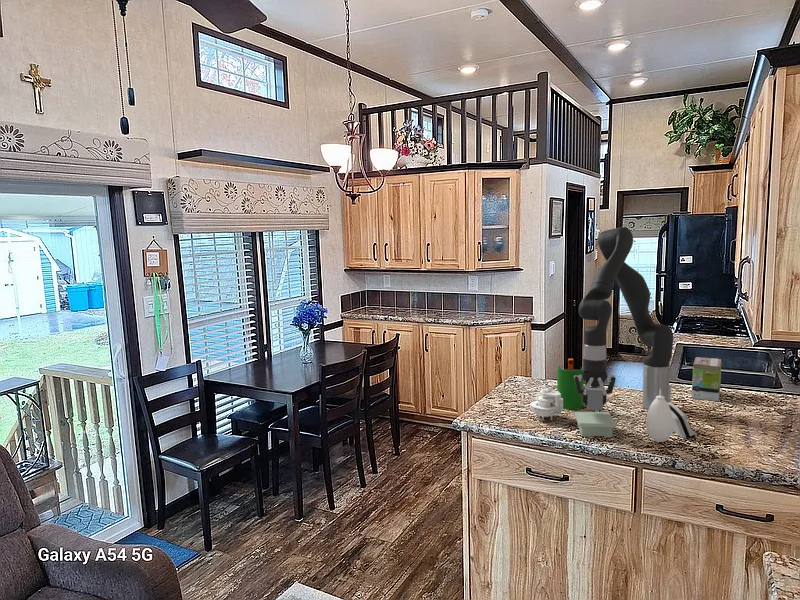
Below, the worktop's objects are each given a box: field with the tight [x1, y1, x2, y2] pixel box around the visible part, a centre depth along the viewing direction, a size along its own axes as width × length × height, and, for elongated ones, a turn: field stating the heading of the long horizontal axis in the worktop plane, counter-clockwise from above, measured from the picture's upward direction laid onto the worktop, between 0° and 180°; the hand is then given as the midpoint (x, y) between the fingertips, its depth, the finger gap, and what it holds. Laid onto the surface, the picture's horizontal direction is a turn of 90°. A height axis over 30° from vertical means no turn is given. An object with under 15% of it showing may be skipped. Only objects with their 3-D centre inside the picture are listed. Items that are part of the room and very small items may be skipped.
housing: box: [584, 381, 604, 411], centre depth 189 cm, size 5×9×8 cm, turn 168°
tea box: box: [691, 356, 722, 402], centre depth 223 cm, size 15×10×15 cm, turn 148°
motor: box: [556, 358, 585, 410], centre depth 214 cm, size 10×9×20 cm
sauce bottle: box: [645, 389, 673, 443], centre depth 175 cm, size 8×8×18 cm
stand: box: [573, 411, 617, 438], centre depth 187 cm, size 12×12×5 cm
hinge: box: [668, 402, 698, 439], centre depth 186 cm, size 17×5×10 cm, turn 177°
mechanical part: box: [529, 385, 564, 421], centre depth 202 cm, size 11×12×12 cm
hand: (594, 404), depth 187 cm, fingers closed on housing, 5 cm apart
